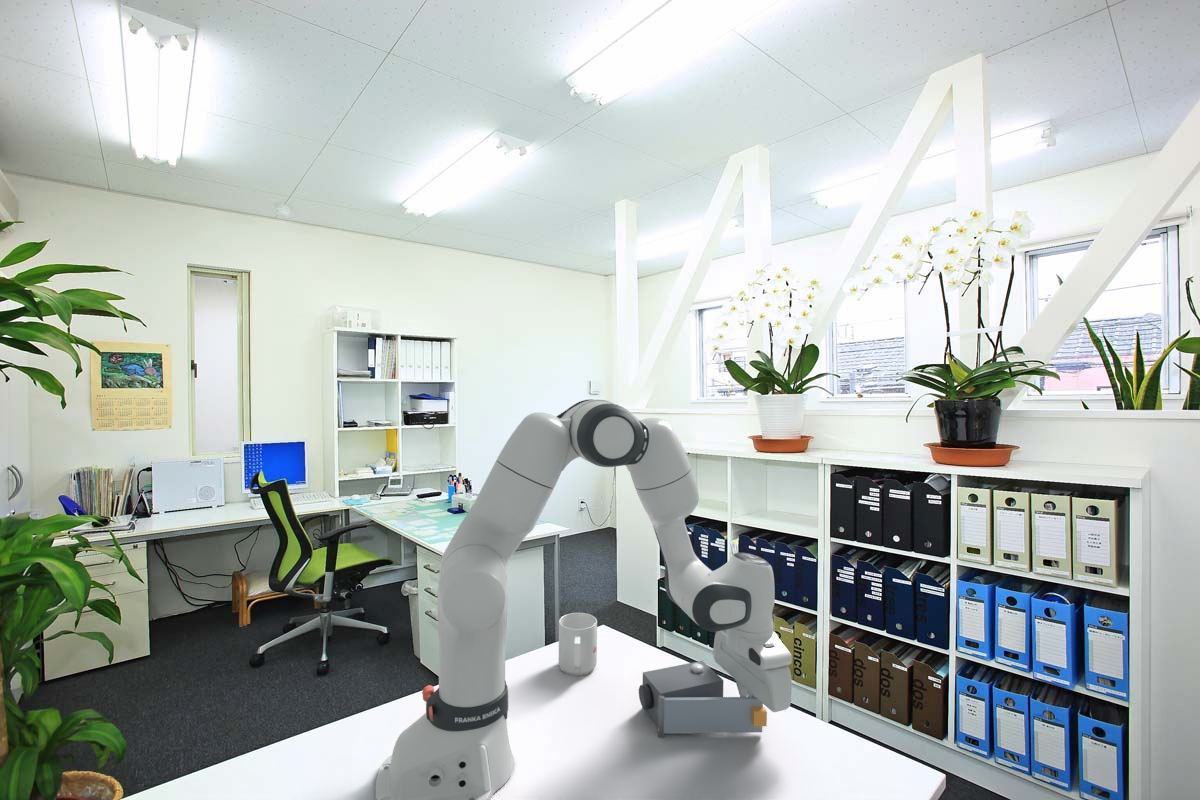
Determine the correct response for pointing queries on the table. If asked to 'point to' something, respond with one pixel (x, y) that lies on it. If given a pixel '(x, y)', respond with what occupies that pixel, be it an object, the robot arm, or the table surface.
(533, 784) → the table surface
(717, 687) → the camera case
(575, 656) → the mug
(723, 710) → the side door
